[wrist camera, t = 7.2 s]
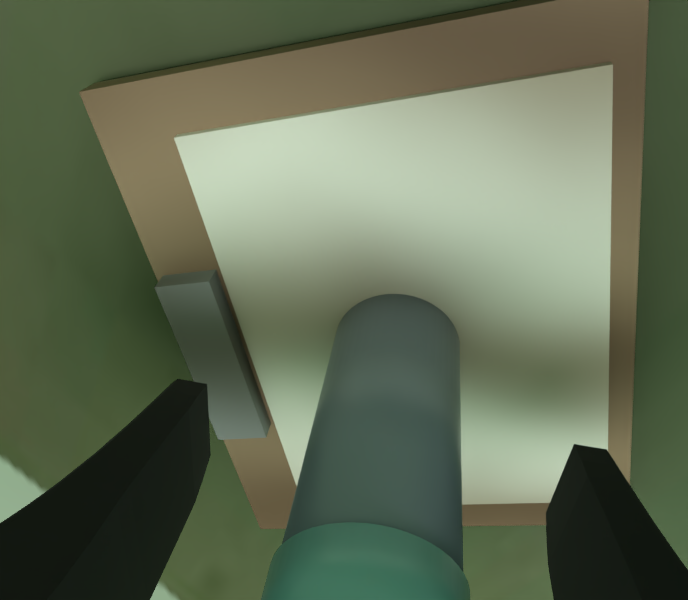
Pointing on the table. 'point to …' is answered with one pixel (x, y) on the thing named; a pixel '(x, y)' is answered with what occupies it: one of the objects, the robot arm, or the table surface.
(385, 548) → the marker
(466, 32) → the clipboard
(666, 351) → the table surface
